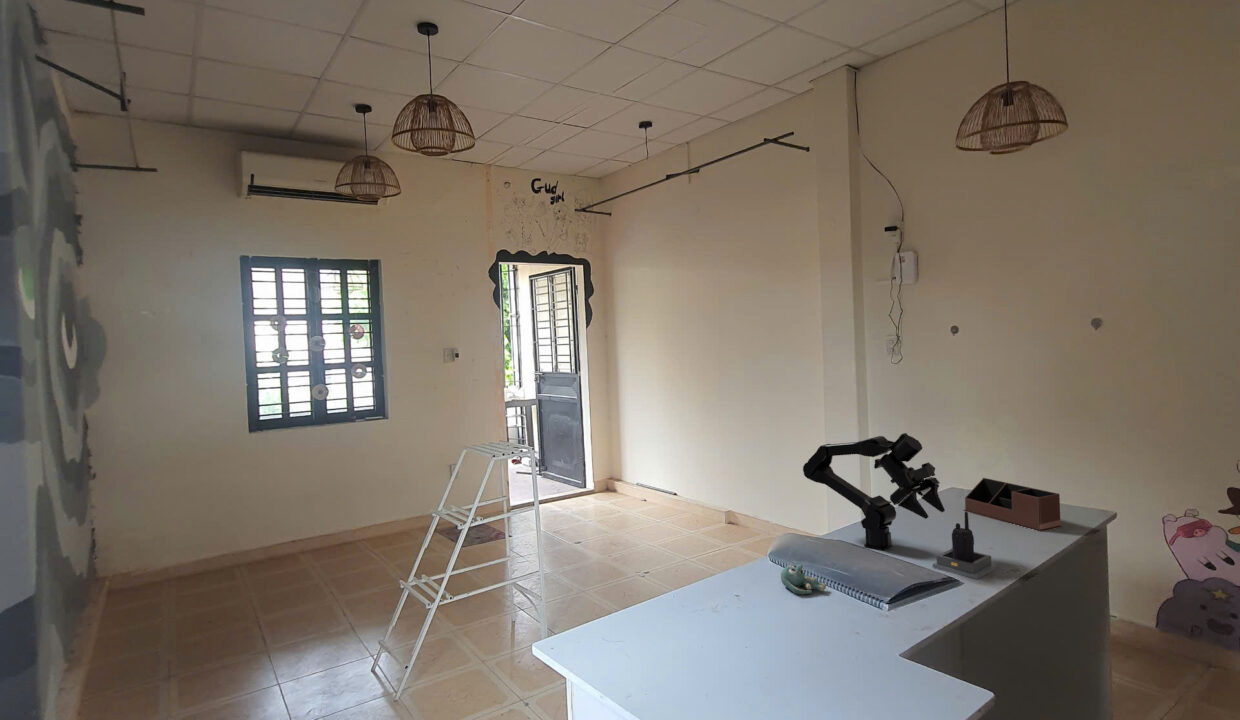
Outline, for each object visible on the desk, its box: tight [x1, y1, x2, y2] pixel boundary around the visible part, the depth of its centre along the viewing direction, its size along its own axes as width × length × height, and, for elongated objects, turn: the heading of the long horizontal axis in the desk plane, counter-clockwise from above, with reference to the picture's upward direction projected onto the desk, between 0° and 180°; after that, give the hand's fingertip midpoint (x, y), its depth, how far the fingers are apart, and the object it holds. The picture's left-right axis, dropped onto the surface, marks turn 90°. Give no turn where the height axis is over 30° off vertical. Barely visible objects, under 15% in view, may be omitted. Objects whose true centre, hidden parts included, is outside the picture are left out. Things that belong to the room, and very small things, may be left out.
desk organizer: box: [963, 477, 1063, 533], centre depth 219 cm, size 10×29×11 cm, turn 20°
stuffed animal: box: [780, 563, 827, 596], centre depth 169 cm, size 11×7×12 cm
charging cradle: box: [932, 548, 997, 580], centre depth 177 cm, size 12×11×4 cm
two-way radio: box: [951, 511, 975, 563], centre depth 176 cm, size 6×4×15 cm
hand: (935, 514), depth 183 cm, fingers open, 9 cm apart
